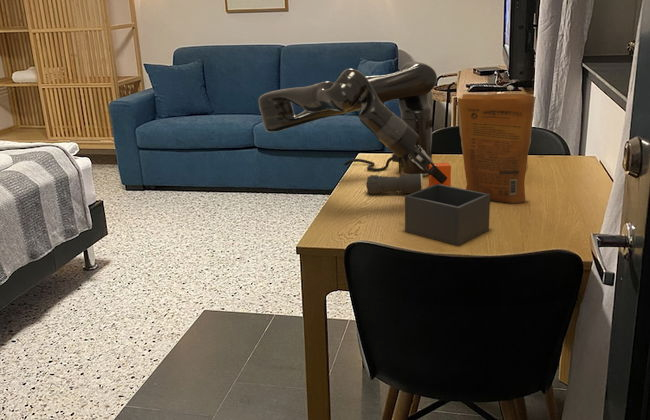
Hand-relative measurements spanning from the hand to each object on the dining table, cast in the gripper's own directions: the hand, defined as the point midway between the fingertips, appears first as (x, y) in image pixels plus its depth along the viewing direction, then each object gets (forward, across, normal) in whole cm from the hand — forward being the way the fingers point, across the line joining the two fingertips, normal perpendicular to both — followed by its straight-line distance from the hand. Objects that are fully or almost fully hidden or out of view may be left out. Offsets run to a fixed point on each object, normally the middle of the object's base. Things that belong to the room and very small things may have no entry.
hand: (440, 176), depth 168 cm
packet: (+5, 0, -6) cm, 8 cm away
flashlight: (-1, -13, -12) cm, 18 cm away
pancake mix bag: (+16, -3, +5) cm, 17 cm away
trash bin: (+4, +18, -7) cm, 20 cm away
